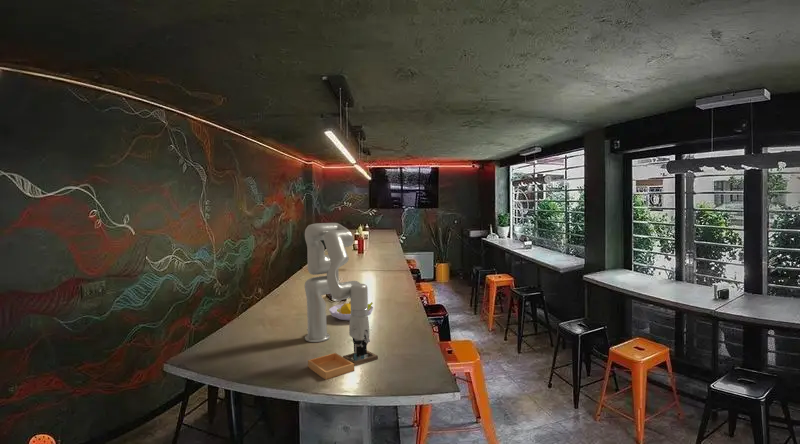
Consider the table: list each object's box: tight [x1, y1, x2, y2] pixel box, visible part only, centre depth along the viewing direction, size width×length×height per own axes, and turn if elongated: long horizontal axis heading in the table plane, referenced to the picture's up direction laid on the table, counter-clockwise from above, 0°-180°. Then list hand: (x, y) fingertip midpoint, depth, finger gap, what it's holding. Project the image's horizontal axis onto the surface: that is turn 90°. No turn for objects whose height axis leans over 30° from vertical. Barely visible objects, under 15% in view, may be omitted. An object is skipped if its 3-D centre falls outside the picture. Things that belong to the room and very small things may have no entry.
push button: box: [352, 338, 367, 361], centre depth 172 cm, size 7×5×10 cm
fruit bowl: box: [328, 300, 375, 322], centre depth 237 cm, size 28×27×11 cm
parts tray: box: [307, 352, 356, 381], centre depth 162 cm, size 16×13×3 cm
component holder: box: [342, 350, 379, 367], centre depth 172 cm, size 10×12×2 cm
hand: (360, 352), depth 172 cm, fingers closed on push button, 4 cm apart
